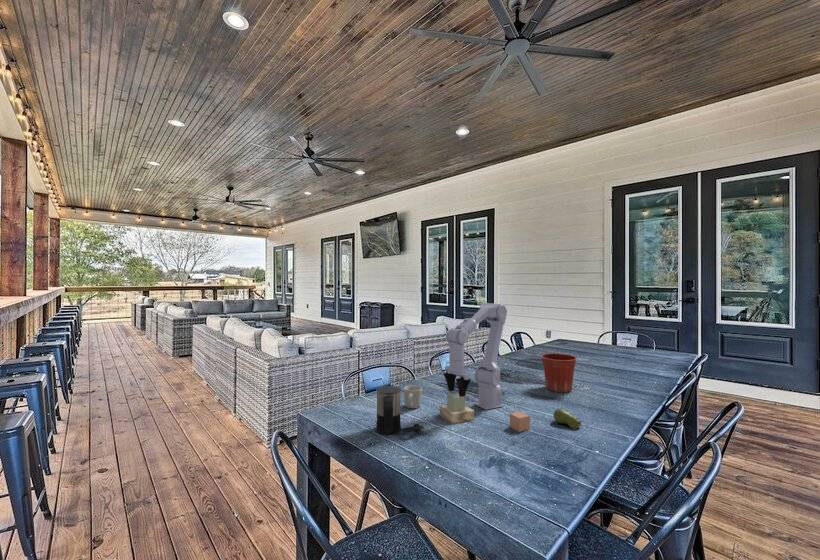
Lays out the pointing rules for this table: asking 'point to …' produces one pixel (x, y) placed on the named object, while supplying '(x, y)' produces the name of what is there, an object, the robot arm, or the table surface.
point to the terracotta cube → (520, 421)
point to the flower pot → (559, 371)
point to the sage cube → (455, 402)
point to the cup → (412, 396)
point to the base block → (457, 414)
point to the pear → (566, 418)
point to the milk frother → (390, 411)
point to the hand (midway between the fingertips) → (456, 393)
